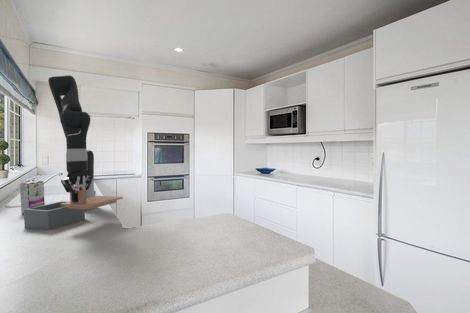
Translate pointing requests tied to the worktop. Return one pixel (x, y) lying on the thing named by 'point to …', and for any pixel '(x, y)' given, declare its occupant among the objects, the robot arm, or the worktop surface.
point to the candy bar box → (31, 195)
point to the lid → (90, 201)
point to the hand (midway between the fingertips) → (78, 201)
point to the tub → (51, 216)
